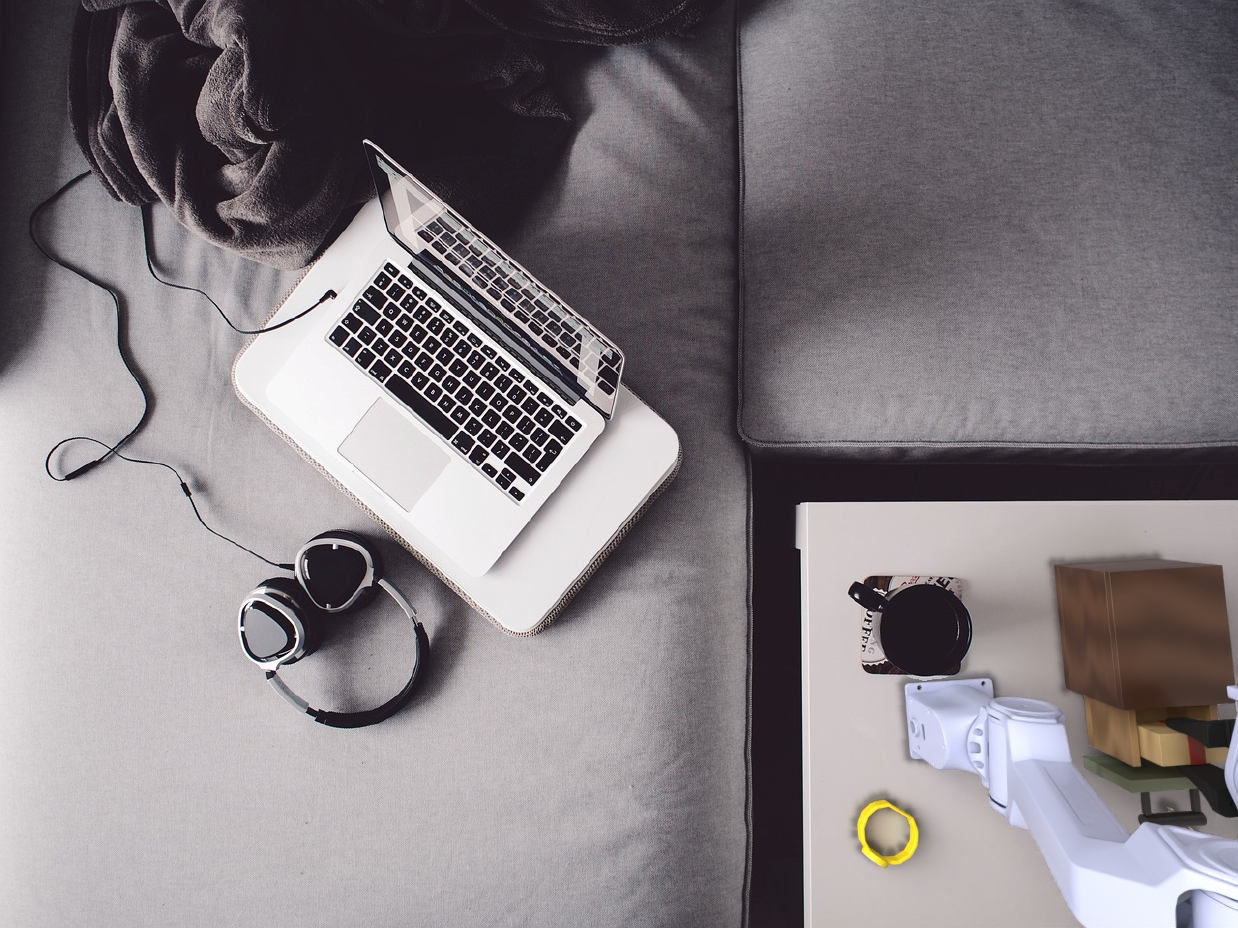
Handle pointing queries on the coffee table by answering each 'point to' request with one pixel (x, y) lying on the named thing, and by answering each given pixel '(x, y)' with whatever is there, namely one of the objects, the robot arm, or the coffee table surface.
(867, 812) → the yellow rubber band ring
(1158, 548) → the coffee table surface
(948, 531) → the coffee table surface
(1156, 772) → the pullout
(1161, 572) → the cabinet
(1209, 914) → the robot arm
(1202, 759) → the tan red striped block
